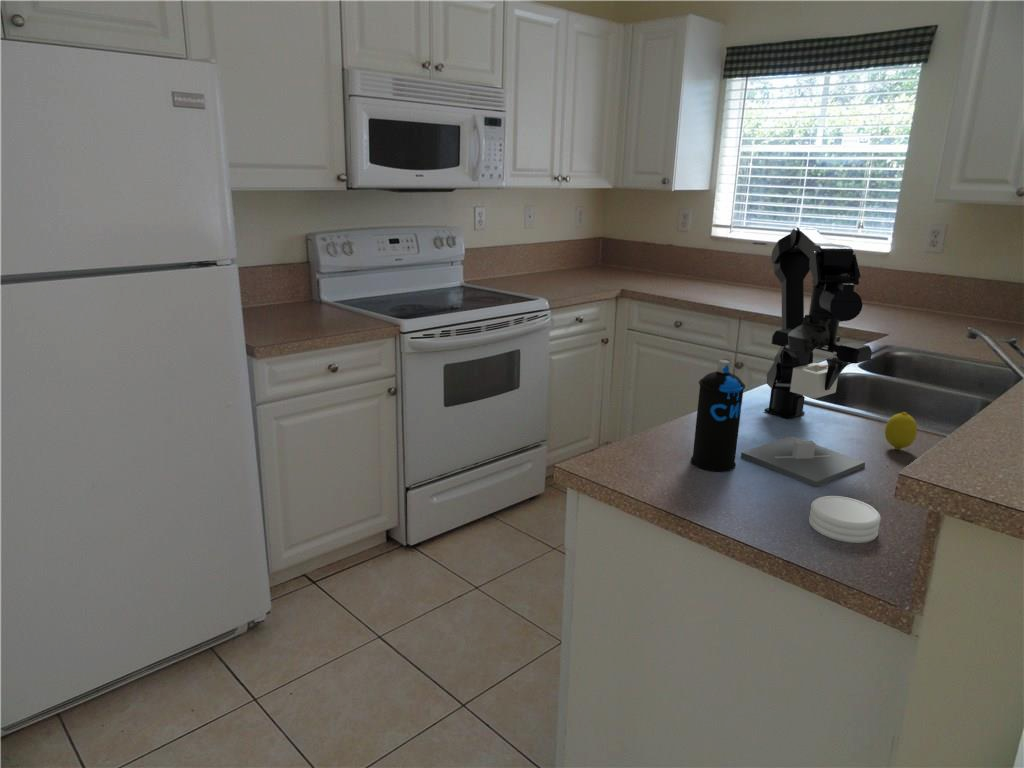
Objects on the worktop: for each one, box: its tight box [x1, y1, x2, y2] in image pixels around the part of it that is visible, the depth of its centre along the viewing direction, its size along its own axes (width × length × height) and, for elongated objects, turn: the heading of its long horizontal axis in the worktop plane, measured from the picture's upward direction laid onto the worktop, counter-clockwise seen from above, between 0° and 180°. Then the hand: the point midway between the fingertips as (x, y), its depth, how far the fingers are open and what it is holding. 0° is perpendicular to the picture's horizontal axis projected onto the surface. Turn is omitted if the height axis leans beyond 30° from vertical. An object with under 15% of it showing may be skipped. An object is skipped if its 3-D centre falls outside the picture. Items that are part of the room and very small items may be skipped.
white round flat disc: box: [808, 495, 882, 544], centre depth 114 cm, size 10×10×4 cm
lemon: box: [884, 411, 918, 451], centre depth 145 cm, size 6×6×8 cm
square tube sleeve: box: [790, 362, 839, 399], centre depth 147 cm, size 6×8×5 cm
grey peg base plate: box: [740, 435, 866, 488], centre depth 139 cm, size 16×16×4 cm
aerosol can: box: [690, 359, 746, 473], centre depth 135 cm, size 8×8×20 cm
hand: (813, 386), depth 148 cm, fingers closed on square tube sleeve, 5 cm apart
